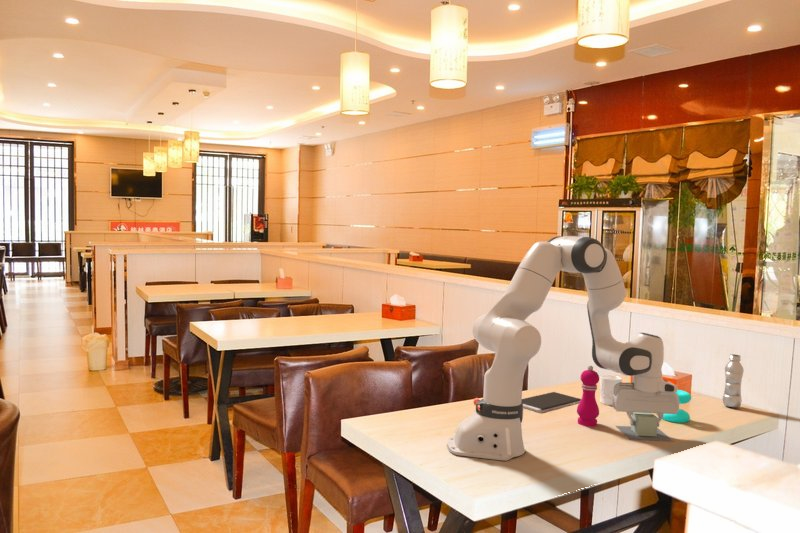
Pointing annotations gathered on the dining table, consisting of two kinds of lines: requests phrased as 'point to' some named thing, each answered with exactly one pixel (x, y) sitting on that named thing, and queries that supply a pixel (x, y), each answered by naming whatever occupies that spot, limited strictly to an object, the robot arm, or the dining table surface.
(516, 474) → the dining table surface
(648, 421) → the sage block
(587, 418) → the pepper mill
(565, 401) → the dark grey flat slab
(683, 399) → the donuts
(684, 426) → the dining table surface
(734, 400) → the plastic bottle
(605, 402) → the white cup
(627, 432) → the mat
